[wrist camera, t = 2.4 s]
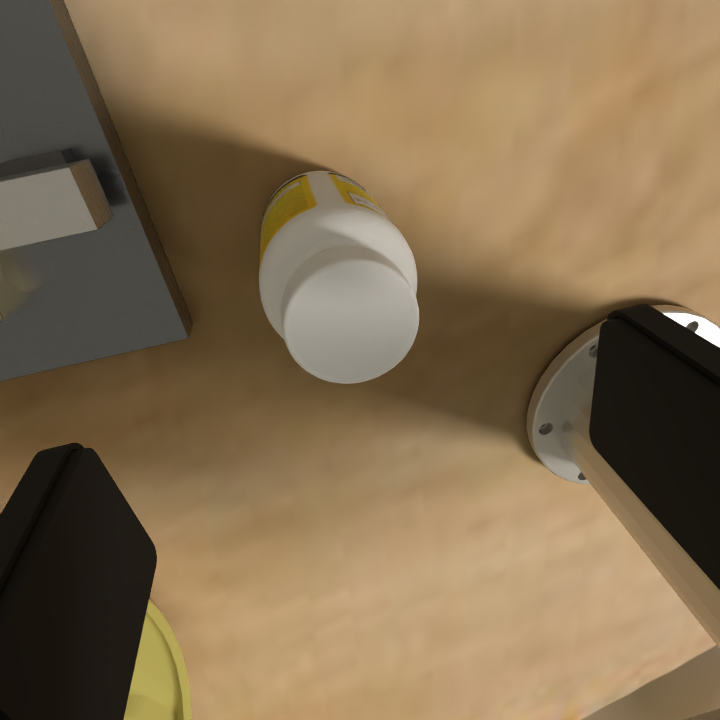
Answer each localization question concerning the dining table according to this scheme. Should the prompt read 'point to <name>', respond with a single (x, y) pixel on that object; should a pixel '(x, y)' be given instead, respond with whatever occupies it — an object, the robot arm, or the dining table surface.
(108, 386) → the dining table surface
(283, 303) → the supplement bottle
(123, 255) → the stand
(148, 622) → the plastic component
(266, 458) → the dining table surface
